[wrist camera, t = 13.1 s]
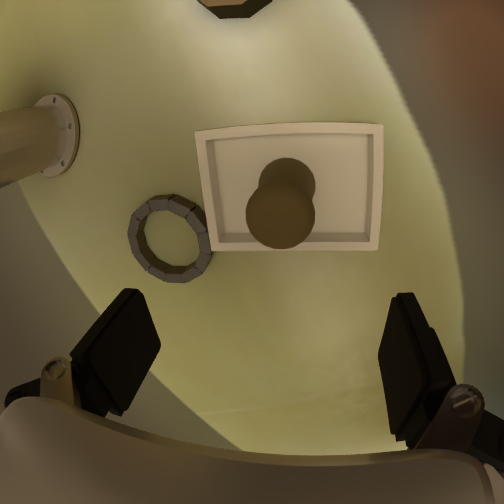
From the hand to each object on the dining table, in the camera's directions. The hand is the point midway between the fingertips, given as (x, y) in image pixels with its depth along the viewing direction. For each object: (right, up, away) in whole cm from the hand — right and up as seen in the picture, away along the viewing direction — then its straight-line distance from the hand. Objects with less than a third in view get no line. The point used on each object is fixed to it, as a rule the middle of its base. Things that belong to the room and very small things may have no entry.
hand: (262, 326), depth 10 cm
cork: (+3, +10, +19) cm, 22 cm away
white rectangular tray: (+4, +10, +19) cm, 22 cm away
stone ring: (-10, +5, +25) cm, 27 cm away
